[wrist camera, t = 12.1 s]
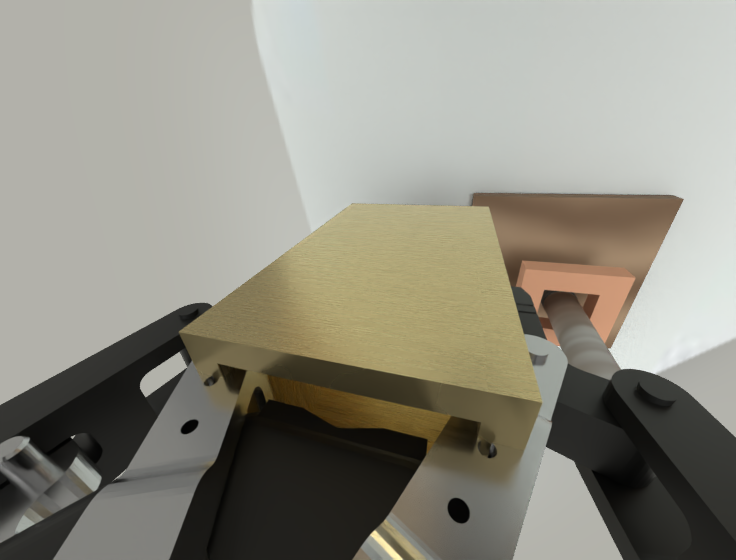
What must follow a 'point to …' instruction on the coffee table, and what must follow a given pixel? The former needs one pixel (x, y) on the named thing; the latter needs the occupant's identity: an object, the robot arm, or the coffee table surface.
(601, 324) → the orange square ring
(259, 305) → the sleeve
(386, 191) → the coffee table surface
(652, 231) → the post stand
